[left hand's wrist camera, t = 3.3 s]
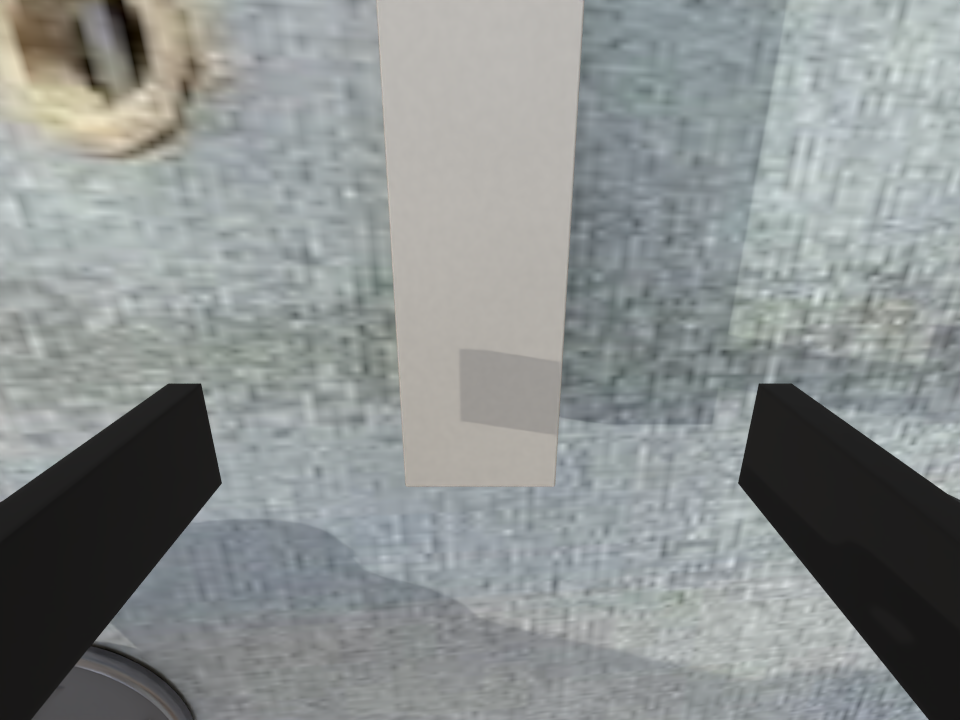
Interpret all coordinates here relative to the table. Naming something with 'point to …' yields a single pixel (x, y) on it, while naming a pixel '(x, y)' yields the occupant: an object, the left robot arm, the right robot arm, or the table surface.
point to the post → (480, 230)
